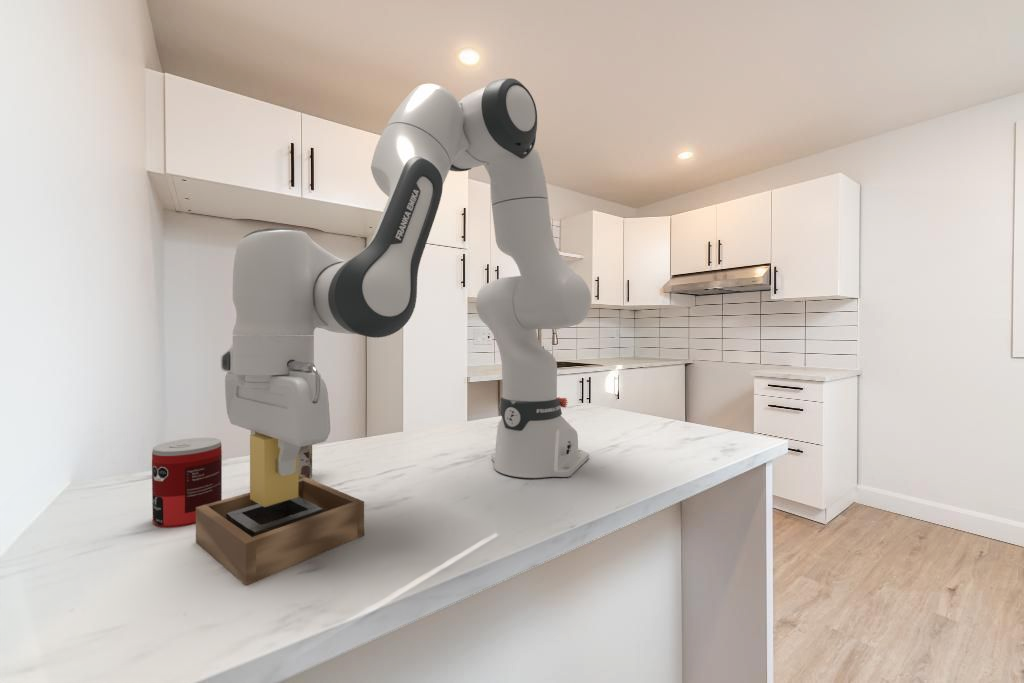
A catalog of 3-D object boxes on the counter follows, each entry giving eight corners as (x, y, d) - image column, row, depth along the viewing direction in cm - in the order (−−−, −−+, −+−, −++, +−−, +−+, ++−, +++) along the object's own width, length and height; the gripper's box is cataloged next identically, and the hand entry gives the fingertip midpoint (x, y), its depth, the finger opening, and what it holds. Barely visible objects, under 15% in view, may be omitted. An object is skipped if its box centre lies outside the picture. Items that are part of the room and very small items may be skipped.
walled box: (306, 510, 64) (306, 477, 64) (364, 539, 55) (364, 501, 55) (195, 546, 53) (195, 507, 53) (245, 591, 44) (245, 543, 44)
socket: (292, 522, 59) (292, 493, 58) (323, 539, 54) (323, 508, 54) (225, 545, 52) (225, 513, 52) (254, 567, 47) (253, 532, 47)
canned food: (165, 513, 63) (165, 439, 62) (228, 505, 65) (228, 435, 65) (141, 536, 55) (140, 453, 55) (213, 527, 58) (212, 448, 58)
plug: (283, 489, 55) (283, 429, 55) (298, 496, 53) (298, 433, 53) (250, 499, 52) (250, 435, 52) (264, 507, 50) (264, 440, 50)
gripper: (344, 361, 49) (344, 480, 49) (265, 355, 61) (265, 450, 61) (289, 364, 44) (289, 496, 44) (215, 356, 56) (215, 460, 56)
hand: (274, 469), depth 53 cm, fingers closed on plug, 4 cm apart
